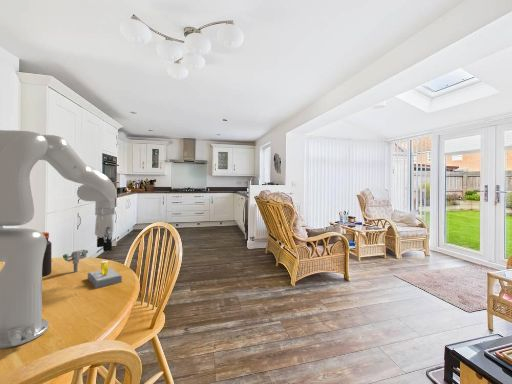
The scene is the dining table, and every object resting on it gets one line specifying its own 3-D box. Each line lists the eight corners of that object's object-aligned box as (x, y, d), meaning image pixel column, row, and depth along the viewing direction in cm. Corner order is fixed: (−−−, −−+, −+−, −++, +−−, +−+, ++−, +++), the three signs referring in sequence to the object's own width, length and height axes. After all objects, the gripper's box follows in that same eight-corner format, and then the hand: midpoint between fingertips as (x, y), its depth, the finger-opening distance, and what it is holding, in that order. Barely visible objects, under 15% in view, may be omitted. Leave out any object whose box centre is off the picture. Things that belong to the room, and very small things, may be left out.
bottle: (35, 273, 116) (35, 232, 115) (53, 271, 119) (53, 231, 118) (29, 278, 110) (29, 235, 109) (48, 276, 112) (48, 234, 112)
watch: (99, 273, 111) (99, 260, 111) (106, 272, 113) (106, 259, 113) (102, 276, 107) (102, 263, 107) (109, 275, 109) (109, 261, 109)
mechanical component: (62, 274, 115) (62, 254, 115) (85, 268, 124) (85, 249, 124) (65, 275, 114) (65, 255, 113) (88, 269, 123) (88, 250, 122)
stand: (121, 281, 109) (121, 275, 109) (96, 288, 102) (96, 281, 101) (111, 273, 118) (111, 267, 118) (87, 278, 111) (87, 272, 111)
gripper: (90, 210, 112) (89, 246, 112) (101, 213, 100) (100, 254, 100) (108, 209, 117) (107, 244, 118) (120, 212, 106) (119, 251, 106)
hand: (104, 248), depth 109 cm, fingers open, 9 cm apart
